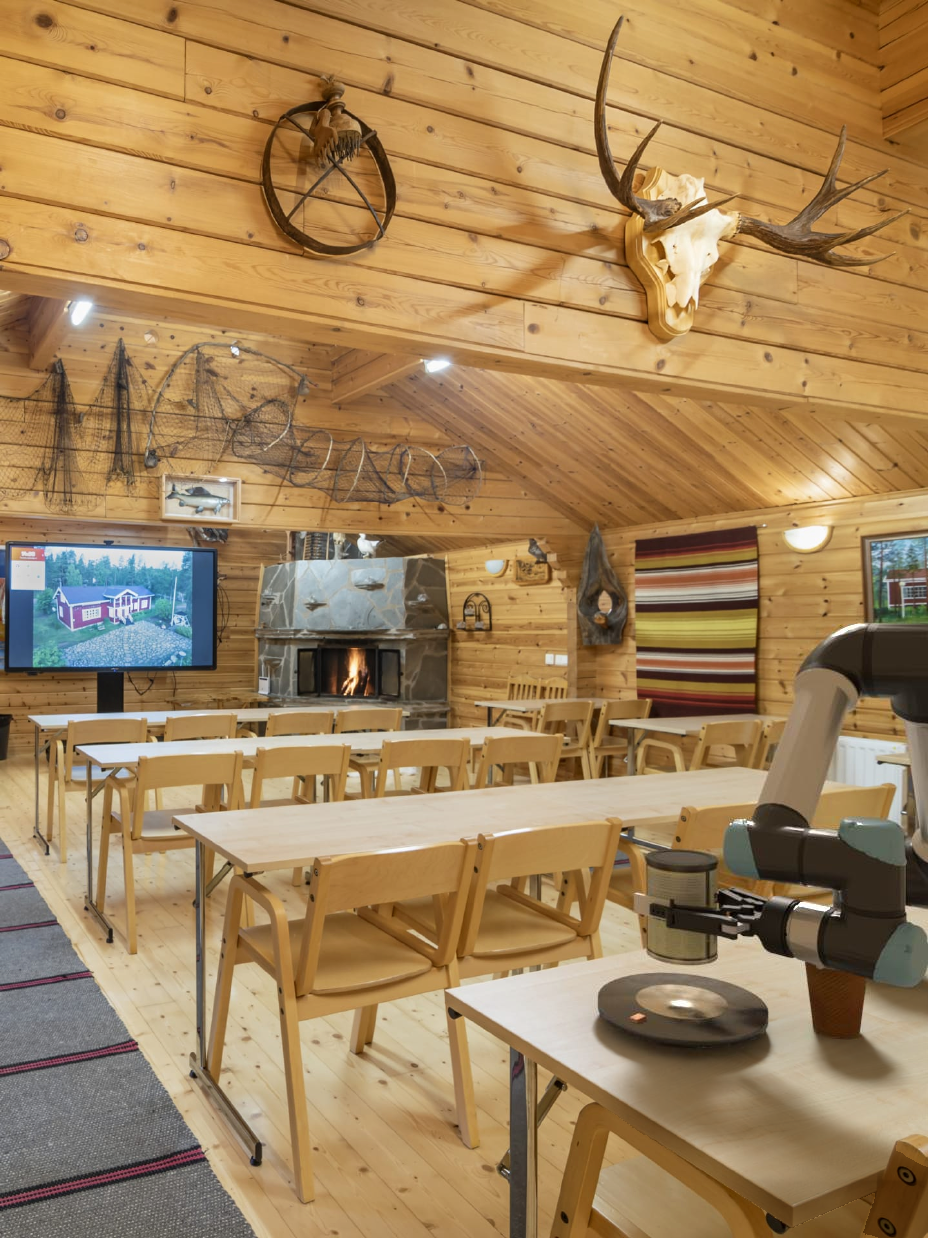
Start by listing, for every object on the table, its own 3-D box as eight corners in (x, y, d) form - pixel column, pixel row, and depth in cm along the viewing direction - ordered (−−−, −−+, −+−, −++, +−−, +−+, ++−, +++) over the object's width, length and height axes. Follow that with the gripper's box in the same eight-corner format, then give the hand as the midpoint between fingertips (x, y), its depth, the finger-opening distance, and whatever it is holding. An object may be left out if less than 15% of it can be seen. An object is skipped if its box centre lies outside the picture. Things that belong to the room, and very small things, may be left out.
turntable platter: (660, 971, 153) (660, 958, 153) (799, 1014, 135) (799, 999, 135) (563, 1009, 136) (564, 995, 136) (708, 1064, 119) (708, 1047, 119)
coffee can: (638, 943, 141) (639, 848, 142) (706, 943, 141) (706, 849, 142) (654, 966, 131) (654, 864, 131) (727, 966, 131) (727, 864, 131)
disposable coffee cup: (879, 1047, 129) (879, 959, 129) (806, 1040, 131) (806, 953, 131) (864, 1020, 138) (864, 938, 139) (796, 1014, 140) (796, 933, 140)
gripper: (754, 979, 115) (609, 937, 132) (837, 941, 131) (699, 907, 147) (754, 917, 116) (610, 883, 132) (837, 886, 131) (699, 859, 147)
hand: (657, 896), depth 139 cm, fingers closed on coffee can, 10 cm apart
